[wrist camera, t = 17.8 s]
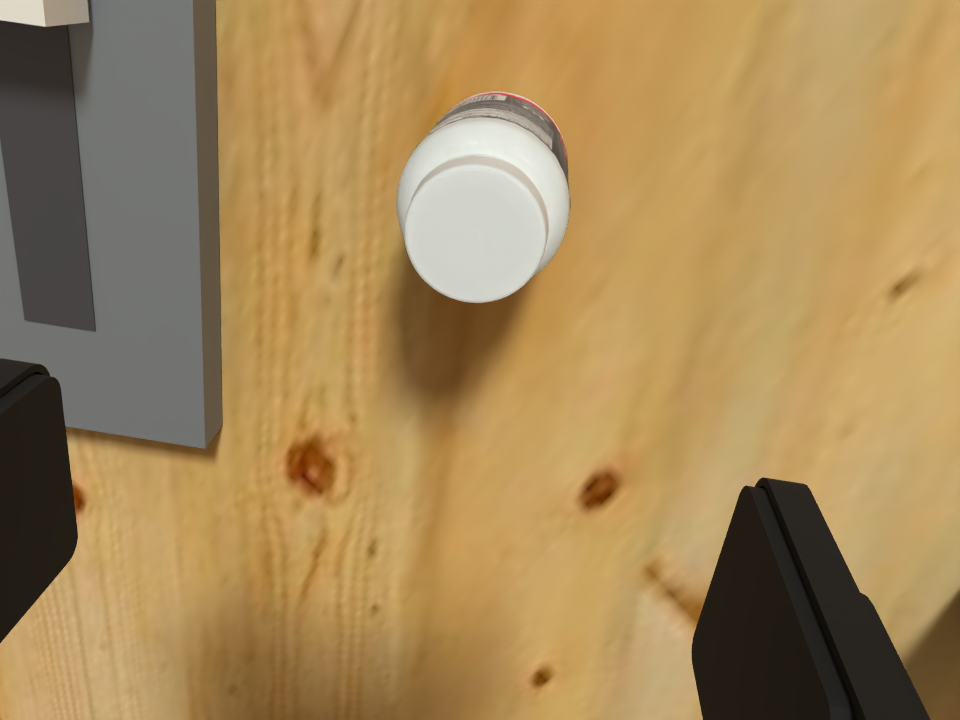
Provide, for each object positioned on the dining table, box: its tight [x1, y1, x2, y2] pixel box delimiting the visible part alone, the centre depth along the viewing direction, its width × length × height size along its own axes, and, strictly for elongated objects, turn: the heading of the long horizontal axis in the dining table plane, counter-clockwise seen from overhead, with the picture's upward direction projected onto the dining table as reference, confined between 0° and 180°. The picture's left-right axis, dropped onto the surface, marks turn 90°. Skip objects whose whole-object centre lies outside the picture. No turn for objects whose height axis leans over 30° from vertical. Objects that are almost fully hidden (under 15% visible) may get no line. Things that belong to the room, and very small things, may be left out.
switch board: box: [0, 0, 222, 449], centre depth 30 cm, size 28×12×2 cm, turn 173°
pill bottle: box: [397, 91, 570, 303], centre depth 26 cm, size 5×5×10 cm
